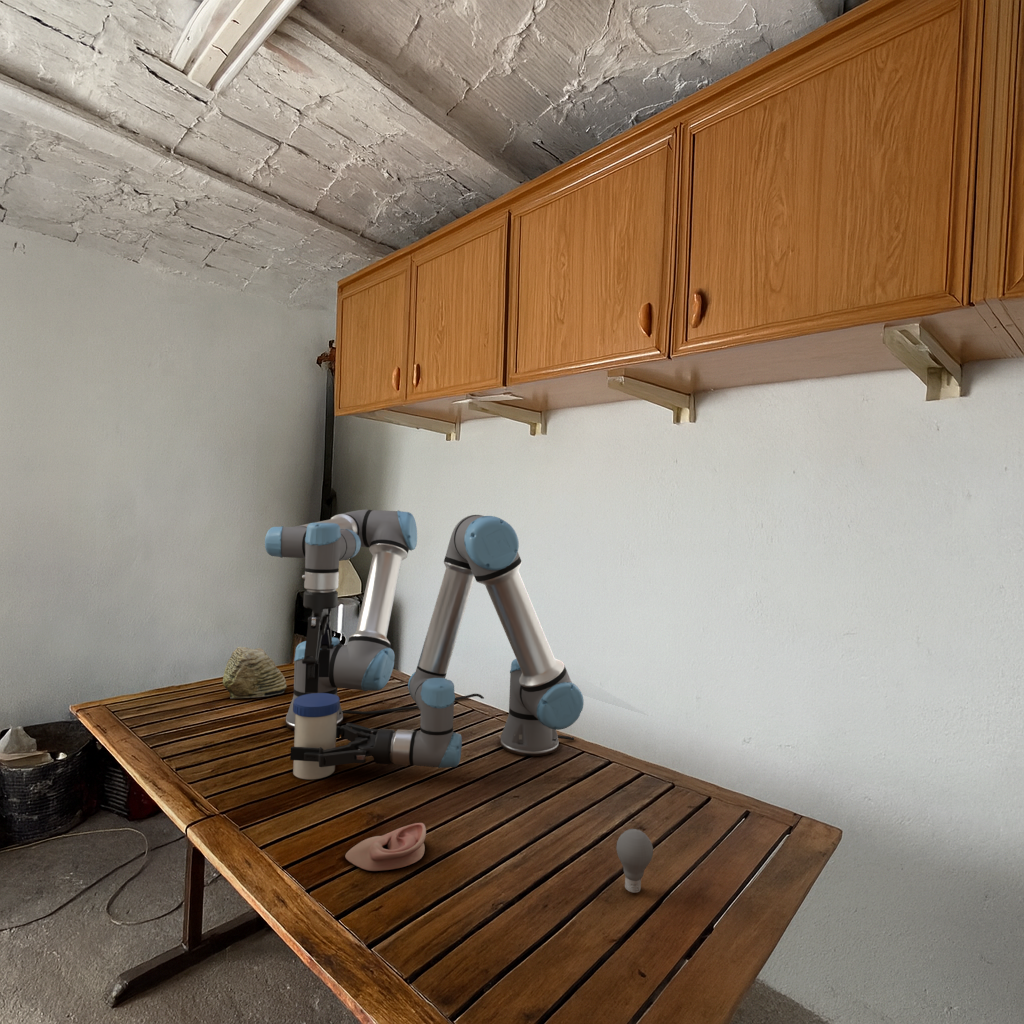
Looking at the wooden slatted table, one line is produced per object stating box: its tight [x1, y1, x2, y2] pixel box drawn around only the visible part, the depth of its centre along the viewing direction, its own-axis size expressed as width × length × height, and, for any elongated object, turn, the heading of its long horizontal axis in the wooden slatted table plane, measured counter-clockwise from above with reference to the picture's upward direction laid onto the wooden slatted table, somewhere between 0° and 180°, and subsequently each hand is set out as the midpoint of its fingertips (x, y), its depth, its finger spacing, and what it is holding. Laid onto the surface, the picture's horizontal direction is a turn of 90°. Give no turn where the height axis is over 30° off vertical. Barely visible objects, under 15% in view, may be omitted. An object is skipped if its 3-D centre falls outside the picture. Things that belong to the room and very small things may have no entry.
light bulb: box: [615, 828, 654, 894], centre depth 106 cm, size 6×6×10 cm
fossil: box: [222, 646, 288, 699], centre depth 198 cm, size 9×18×15 cm, turn 132°
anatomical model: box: [344, 822, 427, 872], centre depth 113 cm, size 13×4×12 cm
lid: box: [293, 693, 341, 717], centre depth 146 cm, size 10×10×2 cm
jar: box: [292, 712, 337, 780], centre depth 146 cm, size 9×9×16 cm
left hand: (317, 684), depth 146 cm, fingers open, 11 cm apart
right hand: (302, 741), depth 146 cm, fingers open, 13 cm apart
